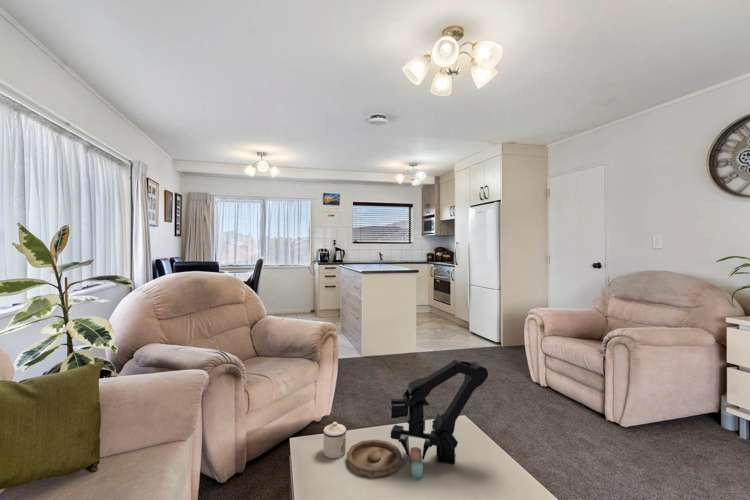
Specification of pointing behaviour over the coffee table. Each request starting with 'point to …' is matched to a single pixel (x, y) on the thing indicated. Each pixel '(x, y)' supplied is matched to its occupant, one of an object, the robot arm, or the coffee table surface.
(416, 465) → the bead teal
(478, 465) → the coffee table surface
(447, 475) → the coffee table surface
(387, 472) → the ring tray
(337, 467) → the coffee table surface
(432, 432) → the robot arm
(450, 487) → the coffee table surface
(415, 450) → the bead terracotta
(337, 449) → the teacup with lid
